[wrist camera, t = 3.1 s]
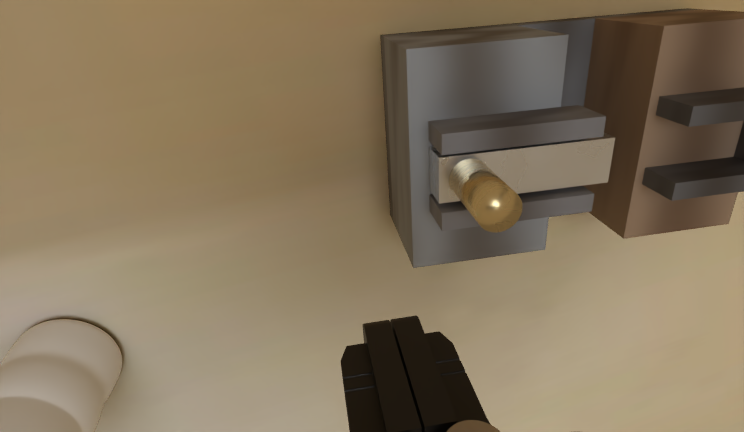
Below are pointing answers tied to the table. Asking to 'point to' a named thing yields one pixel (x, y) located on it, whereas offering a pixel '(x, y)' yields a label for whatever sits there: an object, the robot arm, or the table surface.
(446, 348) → the robot arm
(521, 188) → the bolt
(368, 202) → the table surface
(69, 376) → the water bottle
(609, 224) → the door and jamb
